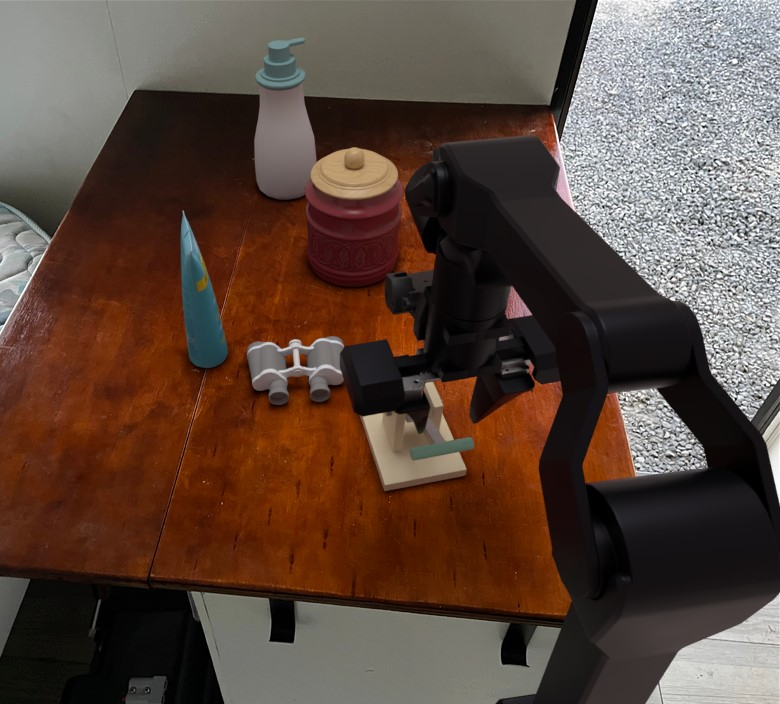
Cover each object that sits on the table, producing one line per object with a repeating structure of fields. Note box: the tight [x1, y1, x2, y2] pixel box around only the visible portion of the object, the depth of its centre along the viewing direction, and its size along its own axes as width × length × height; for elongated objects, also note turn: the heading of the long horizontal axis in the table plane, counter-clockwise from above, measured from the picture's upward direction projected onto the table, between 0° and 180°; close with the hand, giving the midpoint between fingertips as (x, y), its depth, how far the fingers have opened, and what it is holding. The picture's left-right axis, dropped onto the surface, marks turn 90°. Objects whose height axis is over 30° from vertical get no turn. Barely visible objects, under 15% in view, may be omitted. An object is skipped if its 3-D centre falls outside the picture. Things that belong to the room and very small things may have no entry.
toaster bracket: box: [359, 382, 468, 492], centre depth 77 cm, size 12×9×8 cm
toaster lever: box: [405, 414, 475, 461], centre depth 71 cm, size 11×6×2 cm, turn 12°
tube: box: [180, 210, 229, 369], centre depth 83 cm, size 7×5×19 cm, turn 19°
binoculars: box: [246, 335, 344, 406], centre depth 85 cm, size 12×8×4 cm, turn 94°
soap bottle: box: [254, 36, 317, 201], centre depth 107 cm, size 10×10×23 cm
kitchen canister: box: [304, 146, 404, 288], centre depth 95 cm, size 13×13×18 cm
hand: (445, 424), depth 64 cm, fingers open, 5 cm apart
